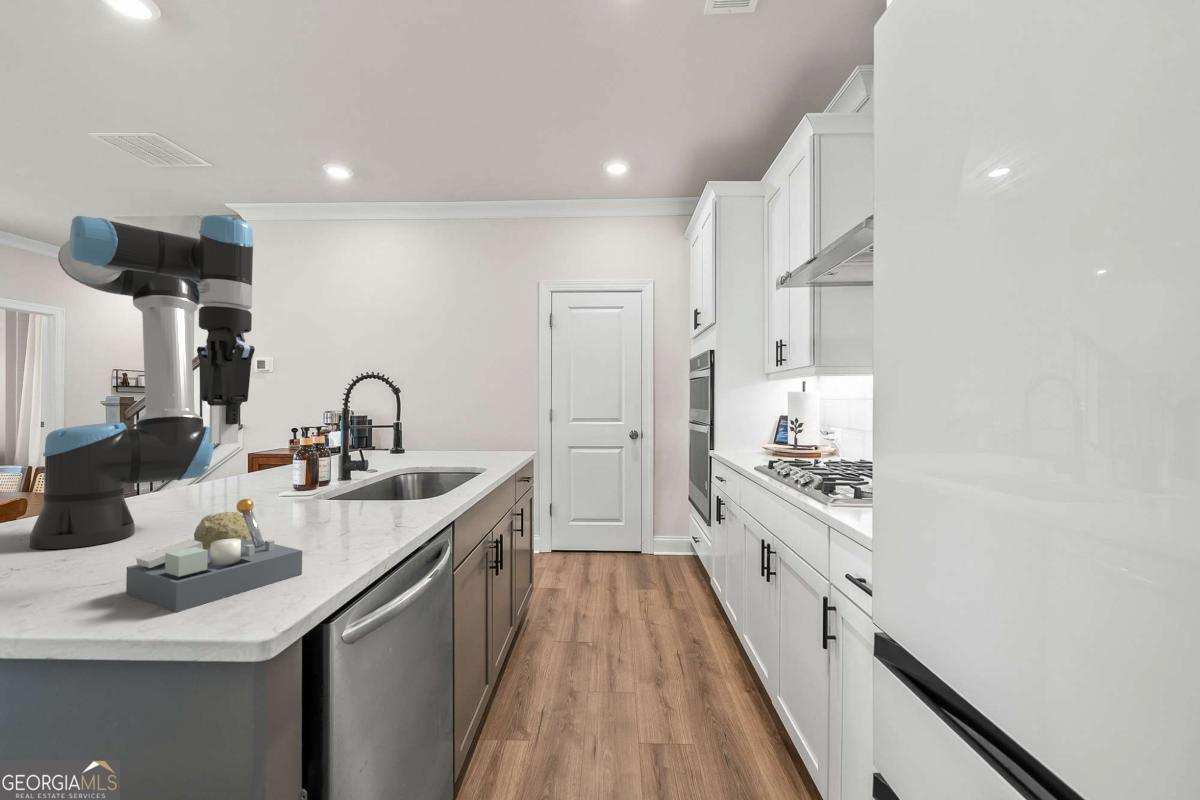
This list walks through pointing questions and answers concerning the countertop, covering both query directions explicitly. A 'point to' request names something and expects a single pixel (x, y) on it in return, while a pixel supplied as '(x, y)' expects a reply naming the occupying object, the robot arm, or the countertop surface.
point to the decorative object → (221, 528)
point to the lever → (250, 521)
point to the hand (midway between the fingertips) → (223, 442)
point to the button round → (225, 551)
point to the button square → (186, 561)
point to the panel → (214, 577)
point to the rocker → (159, 555)
